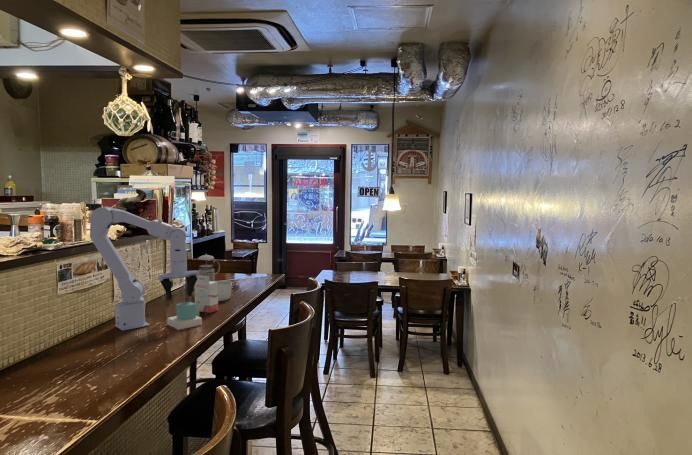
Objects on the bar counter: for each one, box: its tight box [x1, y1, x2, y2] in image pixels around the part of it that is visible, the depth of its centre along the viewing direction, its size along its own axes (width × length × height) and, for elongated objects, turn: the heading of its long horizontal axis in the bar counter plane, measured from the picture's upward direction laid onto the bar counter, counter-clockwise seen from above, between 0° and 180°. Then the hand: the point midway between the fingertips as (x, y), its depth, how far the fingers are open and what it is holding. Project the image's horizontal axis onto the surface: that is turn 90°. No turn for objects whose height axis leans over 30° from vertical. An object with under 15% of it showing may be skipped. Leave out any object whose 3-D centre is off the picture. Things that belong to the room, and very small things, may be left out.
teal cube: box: [175, 301, 196, 320], centre depth 173 cm, size 5×5×5 cm
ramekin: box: [211, 280, 233, 302], centre depth 213 cm, size 13×13×7 cm
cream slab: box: [167, 315, 203, 331], centre depth 173 cm, size 9×9×3 cm
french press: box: [197, 235, 221, 281], centre depth 244 cm, size 10×12×25 cm
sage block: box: [193, 302, 200, 317], centre depth 185 cm, size 4×4×4 cm
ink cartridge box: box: [193, 274, 219, 314], centre depth 192 cm, size 9×5×15 cm, turn 62°
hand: (179, 297), depth 175 cm, fingers open, 7 cm apart
